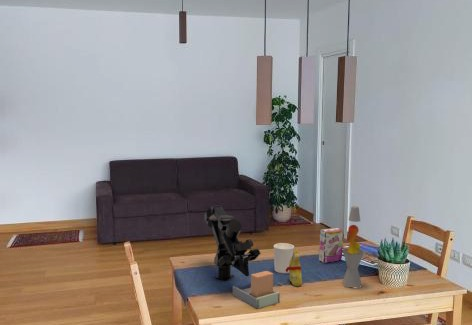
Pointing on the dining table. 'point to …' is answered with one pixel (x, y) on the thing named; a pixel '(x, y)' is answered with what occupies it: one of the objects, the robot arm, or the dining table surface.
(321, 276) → the dining table surface
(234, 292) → the gray open tray
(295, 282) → the chocolate bunny
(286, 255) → the white tapered cylinder
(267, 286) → the terracotta block
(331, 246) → the candy bar box
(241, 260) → the robot arm
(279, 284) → the dining table surface
